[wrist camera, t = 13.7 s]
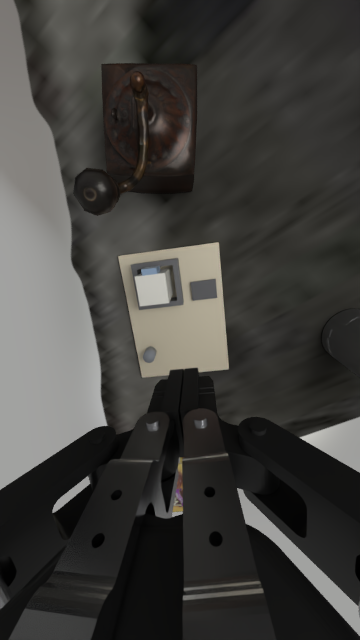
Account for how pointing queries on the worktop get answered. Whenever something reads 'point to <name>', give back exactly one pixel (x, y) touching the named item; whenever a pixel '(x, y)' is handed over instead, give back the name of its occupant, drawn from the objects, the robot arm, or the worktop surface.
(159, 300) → the plug
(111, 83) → the manual coffee grinder
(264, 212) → the worktop surface
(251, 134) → the worktop surface
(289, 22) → the worktop surface
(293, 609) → the robot arm
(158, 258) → the board
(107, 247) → the worktop surface
